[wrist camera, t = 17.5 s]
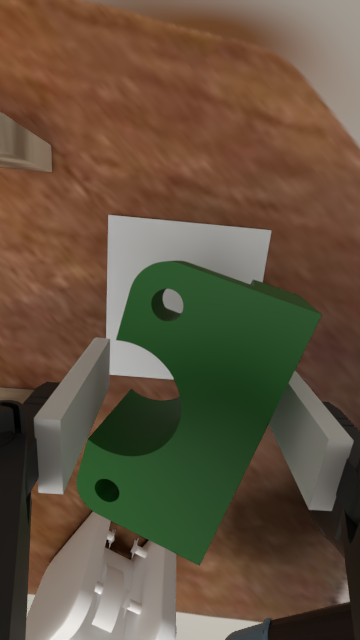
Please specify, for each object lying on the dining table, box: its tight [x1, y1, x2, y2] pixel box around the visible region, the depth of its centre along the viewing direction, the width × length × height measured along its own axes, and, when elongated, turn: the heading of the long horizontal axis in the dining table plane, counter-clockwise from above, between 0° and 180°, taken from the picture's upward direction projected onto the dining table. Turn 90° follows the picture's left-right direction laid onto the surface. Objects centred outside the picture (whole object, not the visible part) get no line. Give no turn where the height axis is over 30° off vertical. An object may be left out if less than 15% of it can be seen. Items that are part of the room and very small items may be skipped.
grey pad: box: [106, 215, 271, 379], centre depth 28 cm, size 14×15×1 cm
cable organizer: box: [25, 512, 176, 640], centre depth 32 cm, size 15×11×12 cm
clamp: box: [77, 260, 322, 566], centre depth 13 cm, size 12×6×9 cm, turn 156°
